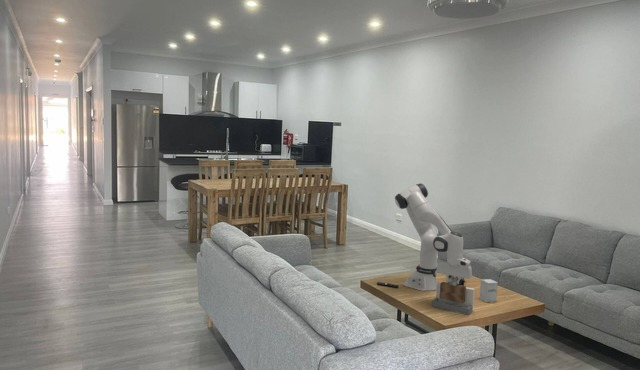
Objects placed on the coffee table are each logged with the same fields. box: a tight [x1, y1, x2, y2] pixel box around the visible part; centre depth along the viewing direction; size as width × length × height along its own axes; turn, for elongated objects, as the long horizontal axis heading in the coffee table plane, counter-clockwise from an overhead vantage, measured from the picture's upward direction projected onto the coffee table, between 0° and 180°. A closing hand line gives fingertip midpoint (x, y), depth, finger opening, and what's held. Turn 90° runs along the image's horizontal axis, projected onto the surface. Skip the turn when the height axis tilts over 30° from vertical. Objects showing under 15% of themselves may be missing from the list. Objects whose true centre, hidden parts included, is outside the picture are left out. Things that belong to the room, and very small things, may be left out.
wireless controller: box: [447, 275, 465, 286], centre depth 326 cm, size 20×14×17 cm
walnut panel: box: [440, 277, 467, 303], centre depth 273 cm, size 14×4×13 cm, turn 57°
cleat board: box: [431, 281, 476, 316], centre depth 275 cm, size 22×9×13 cm, turn 58°
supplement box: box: [479, 278, 499, 303], centre depth 291 cm, size 7×7×13 cm
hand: (453, 282), depth 273 cm, fingers closed on walnut panel, 3 cm apart
